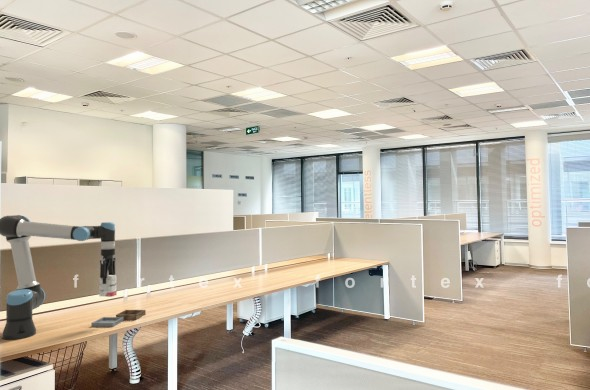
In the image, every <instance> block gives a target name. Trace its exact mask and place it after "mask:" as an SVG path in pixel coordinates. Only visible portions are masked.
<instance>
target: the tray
mask: <svg viewBox="0 0 590 390" xmlns="http://www.w3.org/2000/svg"><path fill="white" fill-rule="evenodd" d="M124 321H125V320H124V317H116V316H103V317H100V318H99V319H96V320H95V321H92V322H91V328H92V327H93V328H95V327H96V328H99V327H100V328H101V327H104V328H105V327H106V328H109V327H111V328H114V327H115V326H117V325H118V324H121V323H122V322H124Z"/></svg>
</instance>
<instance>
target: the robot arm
mask: <svg viewBox="0 0 590 390" xmlns="http://www.w3.org/2000/svg"><path fill="white" fill-rule="evenodd" d="M115 225H116V224H115V223H114V222H113V221H110V222H109V221H107V222H106V221H105V222H100V225H82V226H80V225H68V224H57V223H46V222H45V223H44V222H34V221H31V220H30V219H29V217H27V216H24V215H21V214H20V215H19V214H17V215H15V214H14V215H4V216H2V217H0V235H1V236H2V237H5V241H6V242H7V243H9V244H10V247H11V253H12V259H13V264H14V268H15V274H16V278H17V284H18V285H17V287H16V288H15V290H13V291H11V292H9V293H7V296H6V300H5V302H6V304H5V305H6V307H5V308H6V309H5V310H6V313H5V314H6V322H5V326H4V329H3V331H2V335H1V337H2V339H3V340H9V341H10V340H20V339H25V338H29V337H33V336H34V335H36V334H37V328H36V325H35V323H34V320H33V310H35V309H37V308H39V307H40V306H42V305H43V303H44V301H45V298H46V292H45V291H44V289H43V288H42V287H41V283H40V282H38V281H37V277H36V273H35V268H34V263H33V257H32V253H31V247H30V243H29V242H30V241H29V240H30V238H31V237H37V238H38V237H39V238H50V239H62V240H65V239H66V240H73V241H74V240H75V241H78V242H84V241H87V240H95V239H97V240H99V239H100V248H101V249H100V256H101V257H102V259H101V260H99V263H100V264H99V265H100V267H99V269H100V271H99V272H100V273H99V276H100V278H103V289H108V278H107V275H116V257H114V256H115V254H116V249H115V247H116V239H115V238H116V228H115V227H116V226H115Z"/></svg>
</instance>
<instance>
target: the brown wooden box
mask: <svg viewBox="0 0 590 390" xmlns="http://www.w3.org/2000/svg"><path fill="white" fill-rule="evenodd" d="M145 315H146V309H125V310H123V311H121V312H119V313H116V314H115V317H124V321H137V320H139V319H140V318H142V317H144V316H145Z"/></svg>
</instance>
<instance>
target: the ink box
mask: <svg viewBox="0 0 590 390" xmlns="http://www.w3.org/2000/svg"><path fill="white" fill-rule="evenodd" d="M117 277H118V276H117V274H114V275H109V274H107V278H108V289H103V278H100V275H99V278H98V280H99V281H98V282H99V287H98V288H99V289H98V291H99V294H98V295H99V297H108V298H110V297H111V298H112V297H115V296H117V290H118V289H117V287H118V286H117V281H118V280H117Z"/></svg>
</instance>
